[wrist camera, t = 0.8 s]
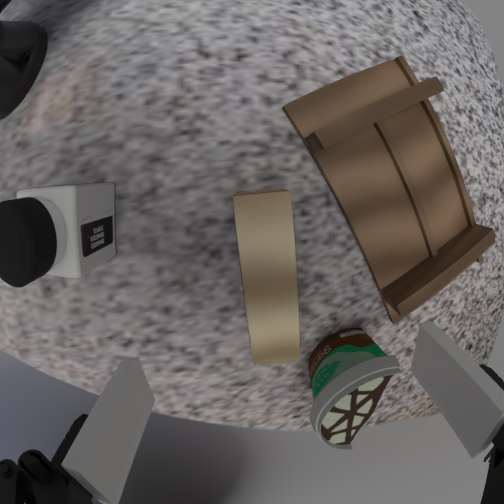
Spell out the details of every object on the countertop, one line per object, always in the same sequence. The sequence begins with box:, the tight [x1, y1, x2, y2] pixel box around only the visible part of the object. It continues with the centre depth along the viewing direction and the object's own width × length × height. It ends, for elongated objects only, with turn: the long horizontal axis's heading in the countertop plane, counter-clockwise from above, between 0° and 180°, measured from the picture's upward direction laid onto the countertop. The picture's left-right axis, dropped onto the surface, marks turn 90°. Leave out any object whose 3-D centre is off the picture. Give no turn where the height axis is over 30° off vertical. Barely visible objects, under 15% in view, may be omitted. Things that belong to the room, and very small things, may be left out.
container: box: [0, 183, 116, 287], centre depth 20 cm, size 8×8×13 cm
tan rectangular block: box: [233, 188, 300, 365], centre depth 24 cm, size 14×4×7 cm, turn 6°
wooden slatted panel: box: [282, 56, 495, 324], centre depth 23 cm, size 26×15×5 cm, turn 31°
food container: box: [309, 328, 402, 450], centre depth 26 cm, size 12×6×10 cm, turn 169°
